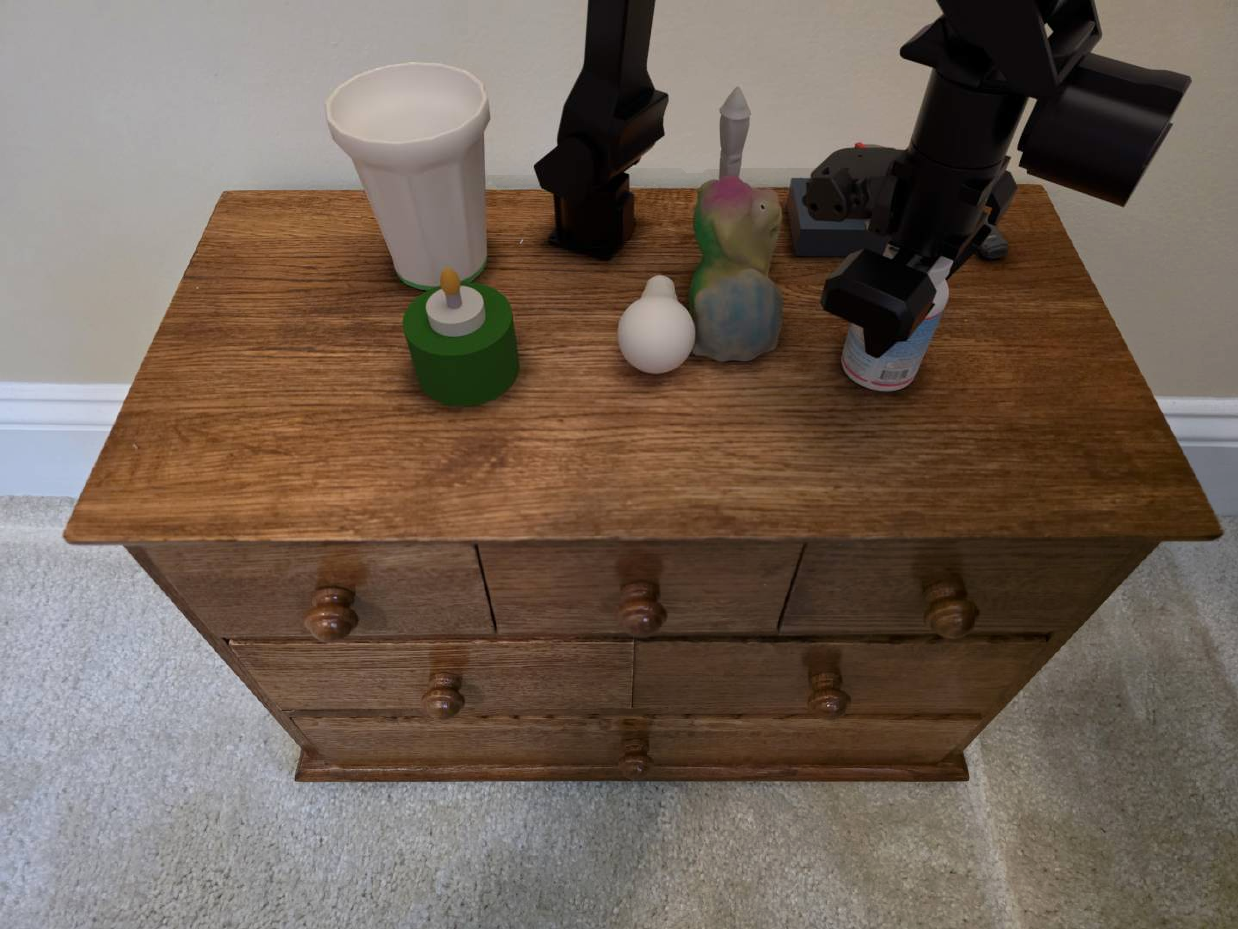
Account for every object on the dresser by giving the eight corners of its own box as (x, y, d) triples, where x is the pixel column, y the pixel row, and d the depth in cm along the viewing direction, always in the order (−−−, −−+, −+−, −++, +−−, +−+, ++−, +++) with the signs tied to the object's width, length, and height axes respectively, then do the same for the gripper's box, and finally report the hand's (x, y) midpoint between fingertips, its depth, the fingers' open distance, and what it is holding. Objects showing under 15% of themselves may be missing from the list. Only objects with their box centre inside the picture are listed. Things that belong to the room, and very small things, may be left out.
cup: (529, 282, 72) (511, 119, 60) (394, 323, 69) (346, 159, 57) (482, 208, 79) (457, 48, 67) (357, 242, 76) (307, 80, 64)
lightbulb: (703, 306, 70) (702, 381, 62) (636, 320, 72) (626, 395, 64) (686, 243, 67) (683, 314, 59) (616, 260, 68) (603, 331, 60)
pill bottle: (920, 356, 66) (971, 239, 58) (906, 403, 63) (958, 286, 54) (847, 334, 68) (887, 217, 59) (830, 380, 64) (869, 262, 56)
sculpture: (795, 365, 66) (818, 265, 58) (691, 369, 65) (700, 270, 58) (765, 252, 75) (782, 153, 67) (674, 256, 74) (680, 156, 67)
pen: (718, 242, 76) (734, 96, 65) (702, 227, 77) (716, 82, 66) (740, 234, 76) (760, 89, 65) (724, 219, 78) (741, 75, 67)
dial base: (795, 258, 74) (801, 229, 72) (785, 202, 80) (791, 173, 77) (927, 260, 74) (937, 231, 71) (908, 203, 79) (917, 174, 77)
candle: (476, 421, 62) (455, 323, 54) (395, 380, 65) (364, 281, 57) (539, 357, 66) (528, 257, 58) (461, 321, 69) (440, 221, 61)
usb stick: (939, 202, 79) (943, 188, 78) (964, 199, 80) (969, 185, 79) (981, 262, 74) (987, 248, 73) (1008, 259, 74) (1014, 245, 73)
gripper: (902, 49, 58) (852, 233, 70) (768, 167, 48) (738, 355, 61) (1058, 97, 53) (976, 284, 66) (944, 236, 44) (873, 422, 57)
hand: (891, 331), depth 62 cm, fingers closed on pill bottle, 6 cm apart
